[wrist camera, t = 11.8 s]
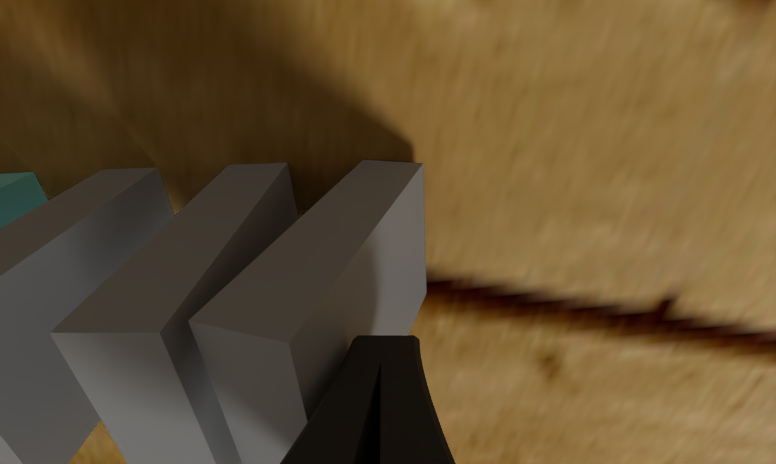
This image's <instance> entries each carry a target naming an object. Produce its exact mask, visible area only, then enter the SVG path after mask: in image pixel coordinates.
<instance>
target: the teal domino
mask: <svg viewBox="0 0 776 464" xmlns="http://www.w3.org/2000/svg"><path fill="white" fill-rule="evenodd" d="M47 201H48V199H47V197H46V195H45V193H44V191H43V189H42V187H41V186H40V184H39V182H38V180H37V178H36V176H35V174H34V172H24V173H4V174H0V228H1V227H3V226H5V225H7V224H8V223H10V222H12V221H14V220H15V219H17V218H19V217H21V216H22V215H24V214H26V213H27V212H29V211H31V210H33V209H34V208H36V207H38V206H40V205H41V204H43V203H45V202H47Z"/></svg>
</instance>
